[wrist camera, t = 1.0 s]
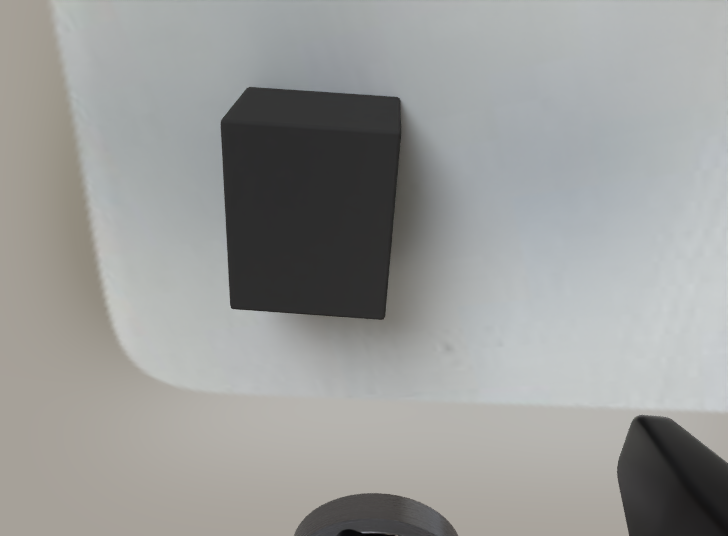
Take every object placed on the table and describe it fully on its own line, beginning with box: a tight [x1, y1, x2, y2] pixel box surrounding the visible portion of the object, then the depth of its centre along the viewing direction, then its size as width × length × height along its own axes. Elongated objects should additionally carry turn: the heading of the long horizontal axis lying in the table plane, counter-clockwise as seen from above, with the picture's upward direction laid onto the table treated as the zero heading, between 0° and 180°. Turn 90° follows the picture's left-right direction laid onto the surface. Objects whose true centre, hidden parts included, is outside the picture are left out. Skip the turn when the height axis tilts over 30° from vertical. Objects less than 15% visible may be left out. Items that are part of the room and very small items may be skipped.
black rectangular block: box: [221, 87, 401, 320], centre depth 17 cm, size 5×4×3 cm
